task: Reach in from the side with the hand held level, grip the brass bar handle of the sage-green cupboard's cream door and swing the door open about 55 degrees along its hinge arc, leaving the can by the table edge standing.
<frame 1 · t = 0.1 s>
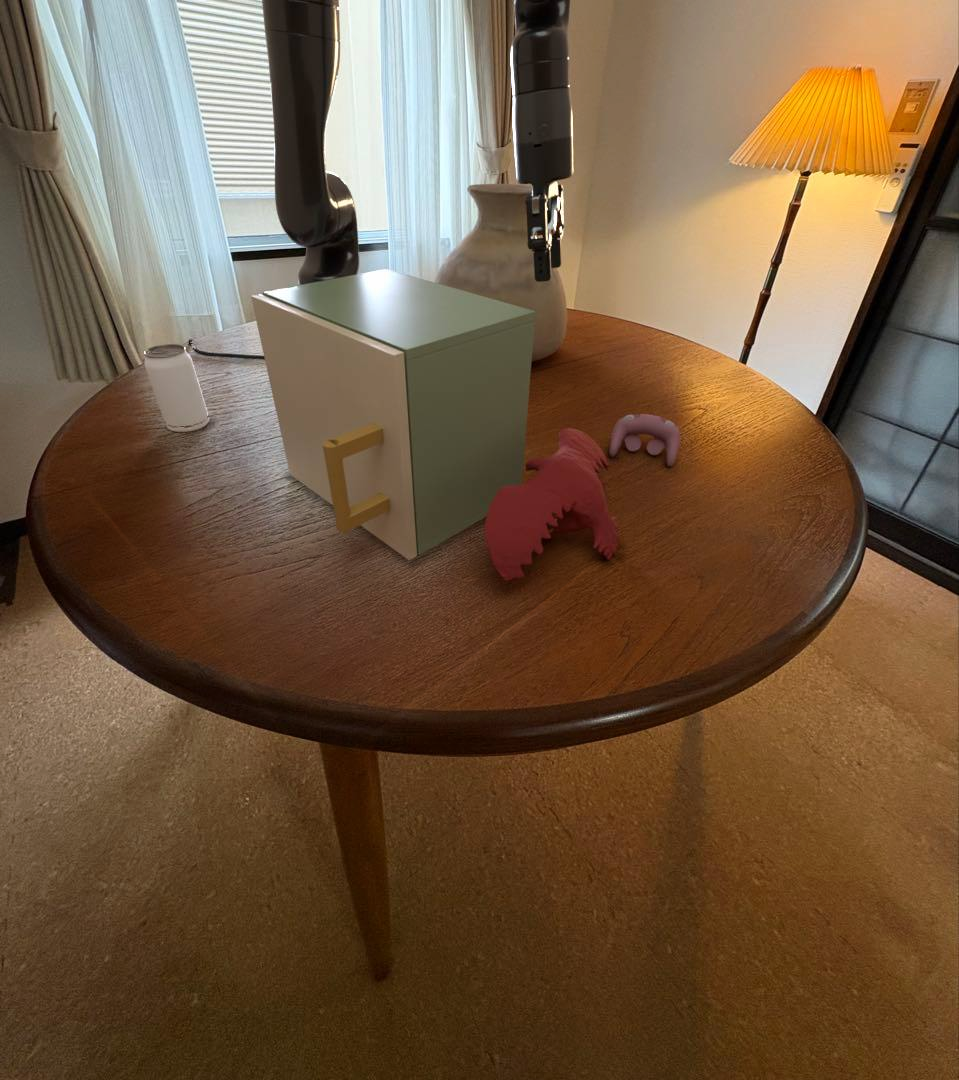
hand: (548, 274, 81), 22 cm above the table, tool pointing down, fingers open, 8 cm apart
cupboard: (407, 484, 77), on the table
can: (189, 425, 90), on the table
jug: (501, 350, 121), on the table
video game controller: (641, 455, 85), on the table
door: (310, 435, 62), point 12 cm above the table, hinge at 0.0°
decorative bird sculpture: (566, 540, 68), on the table
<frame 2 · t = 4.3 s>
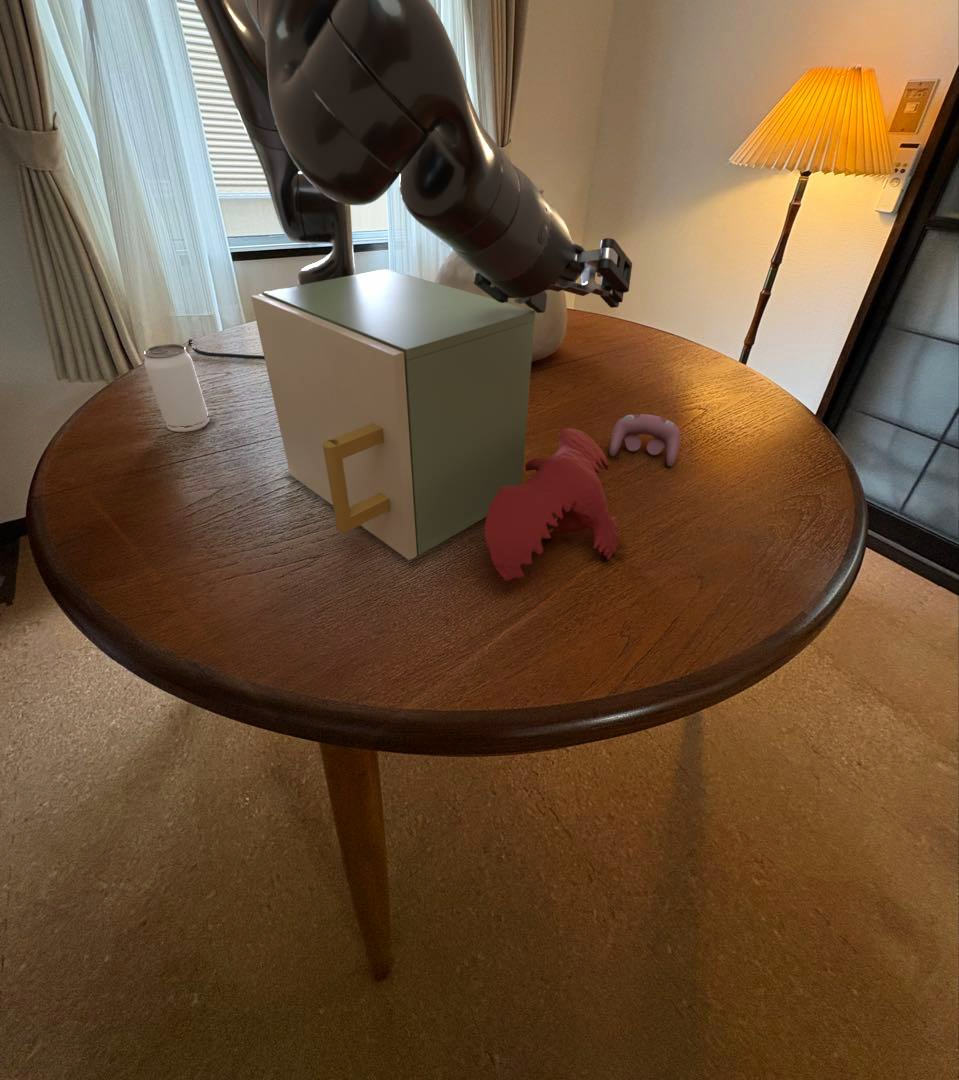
hand: (578, 300, 59), 25 cm above the table, tool tilted 60°, fingers open, 7 cm apart
nothing on the table moved.
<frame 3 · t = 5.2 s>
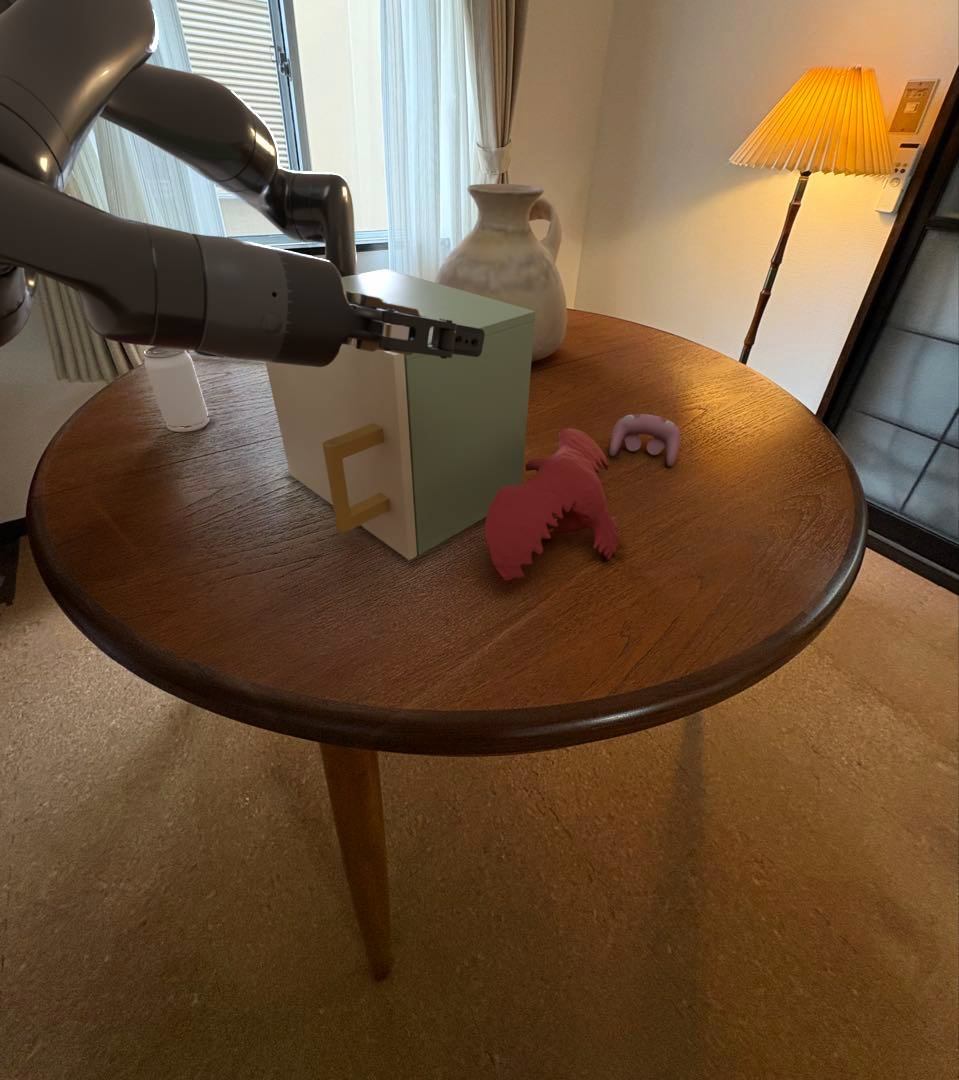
hand: (451, 335, 49), 25 cm above the table, tool tilted 75°, fingers open, 8 cm apart
nothing on the table moved.
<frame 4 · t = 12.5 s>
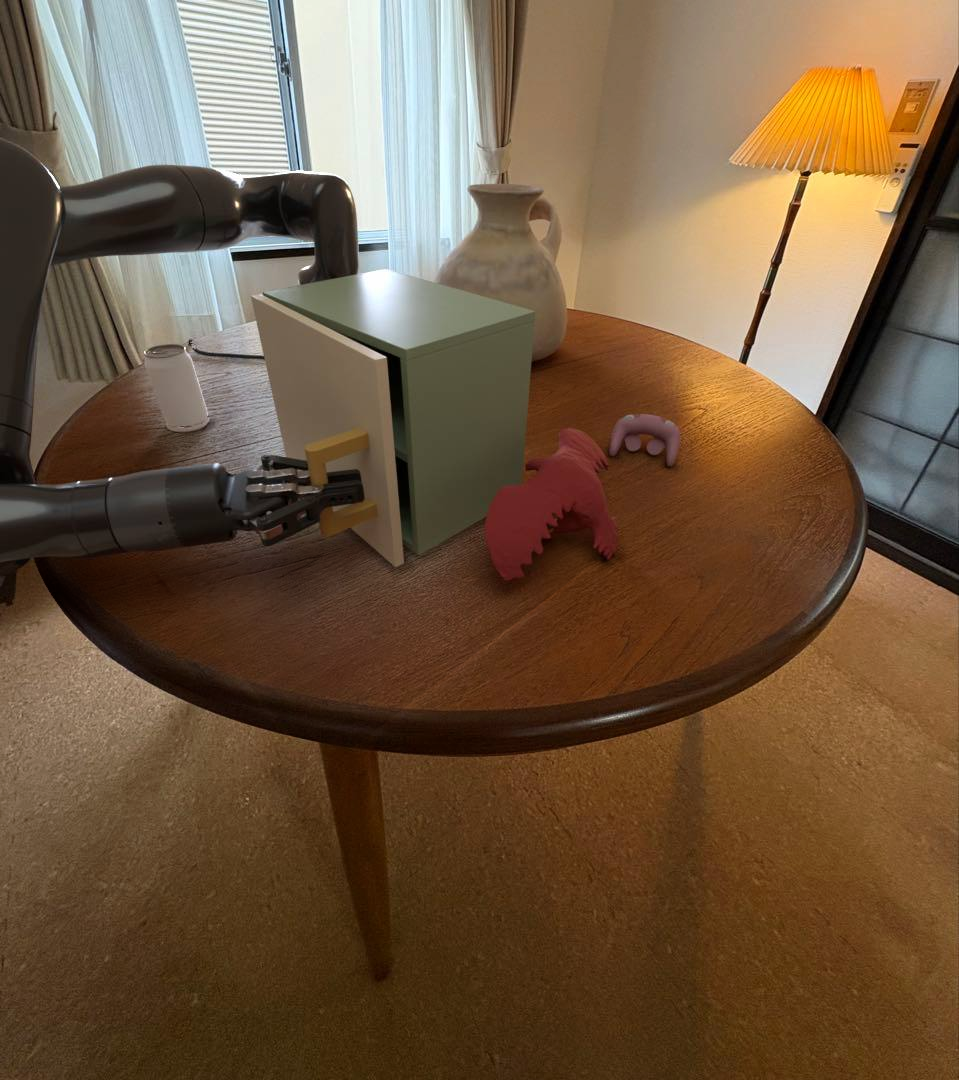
hand: (361, 485, 56), 11 cm above the table, tool horizontal, fingers closed
door: (301, 437, 62), point 12 cm above the table, hinge at 4.2°, touching gripper
everything else where it was.
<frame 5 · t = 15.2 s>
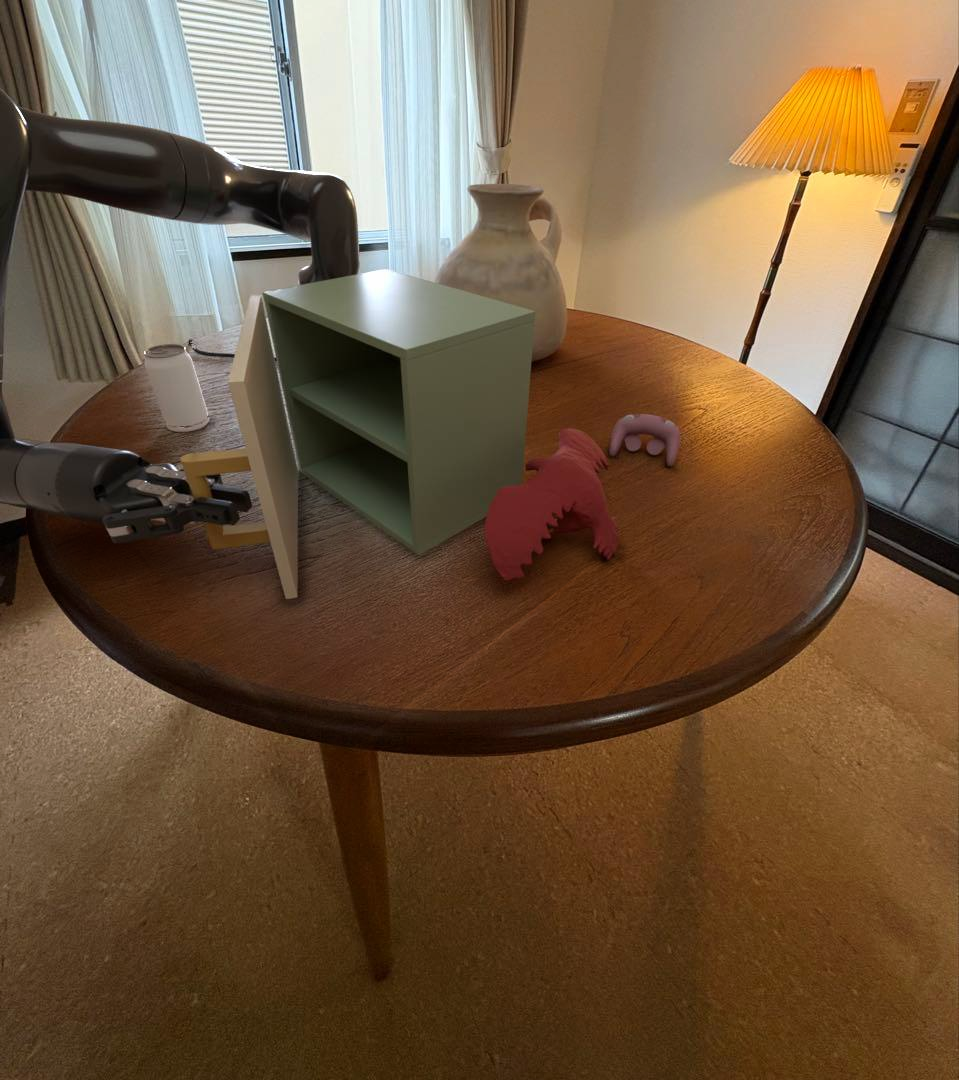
hand: (241, 507, 53), 11 cm above the table, tool horizontal, fingers closed
door: (242, 443, 61), point 12 cm above the table, hinge at 31.1°, touching gripper
everything else where it was.
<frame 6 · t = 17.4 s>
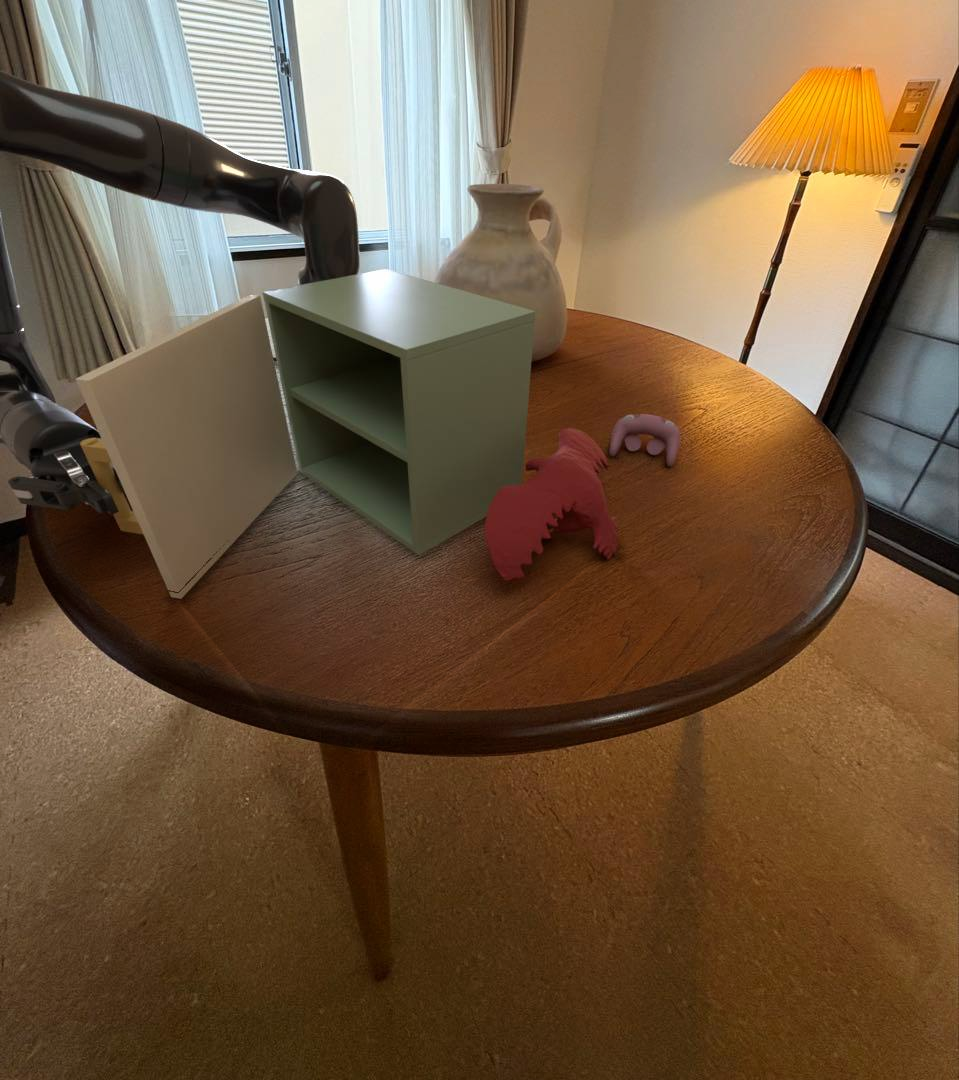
hand: (126, 499, 54), 11 cm above the table, tool horizontal, fingers closed
door: (191, 436, 62), point 12 cm above the table, hinge at 57.8°
everything else where it was.
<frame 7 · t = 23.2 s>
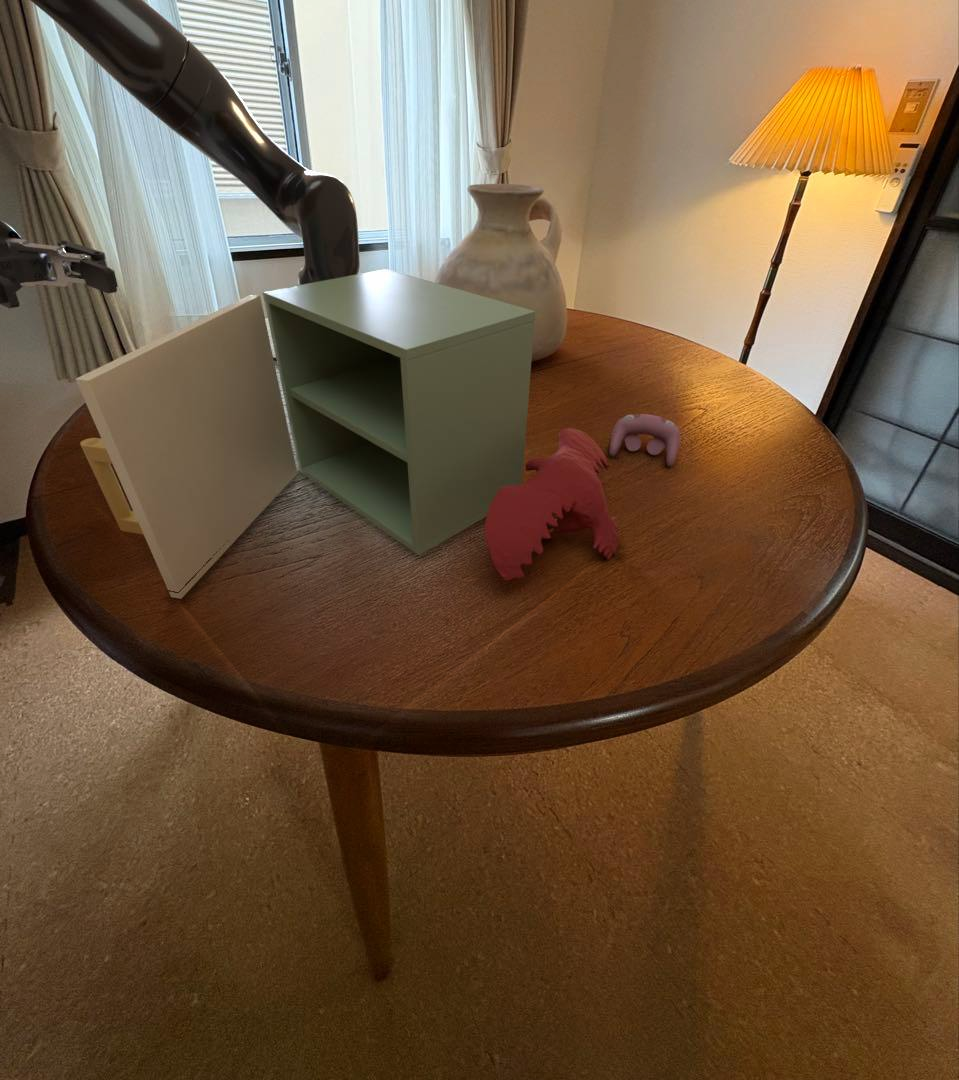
hand: (65, 288, 50), 28 cm above the table, tool horizontal, fingers open, 8 cm apart
nothing on the table moved.
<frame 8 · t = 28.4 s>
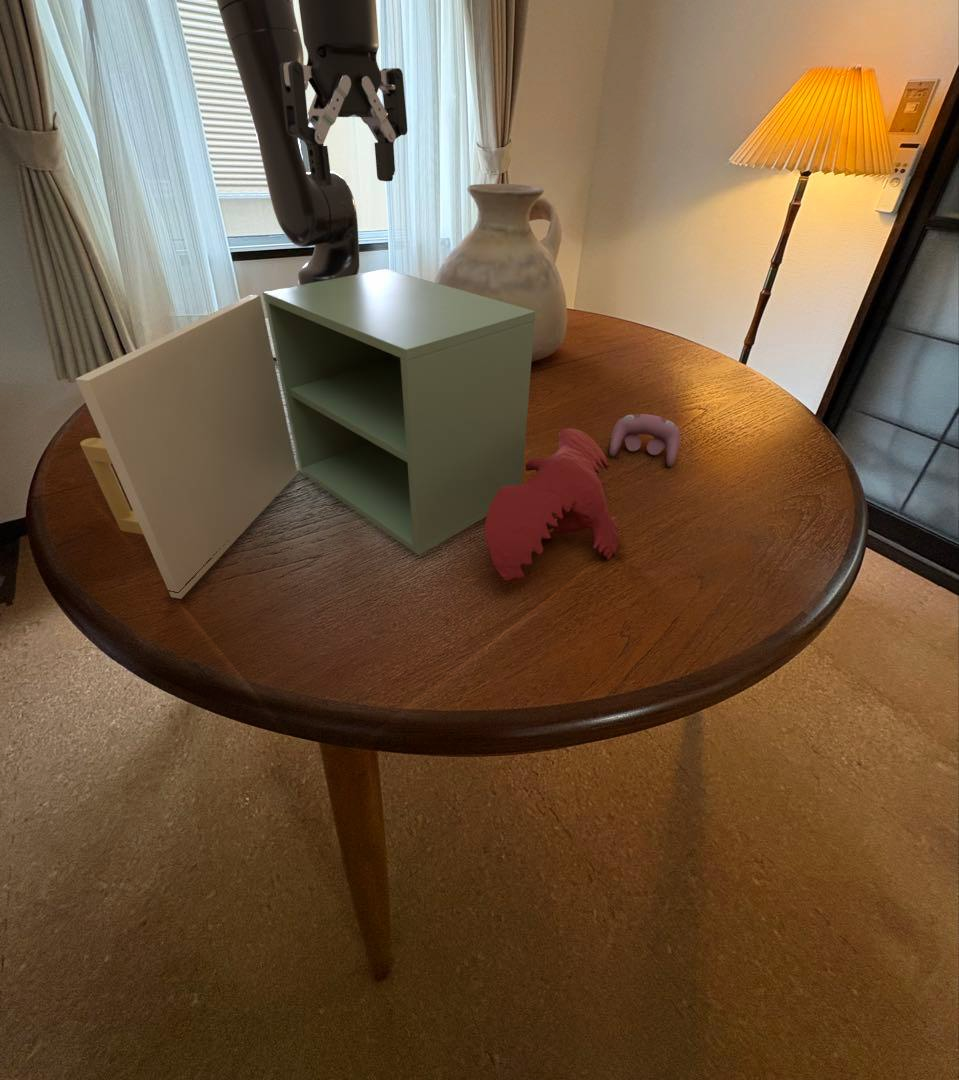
hand: (355, 183, 65), 34 cm above the table, tool pointing down, fingers open, 8 cm apart
nothing on the table moved.
at the end: door at +58° (first picture: +0°); can tilted 0° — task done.
